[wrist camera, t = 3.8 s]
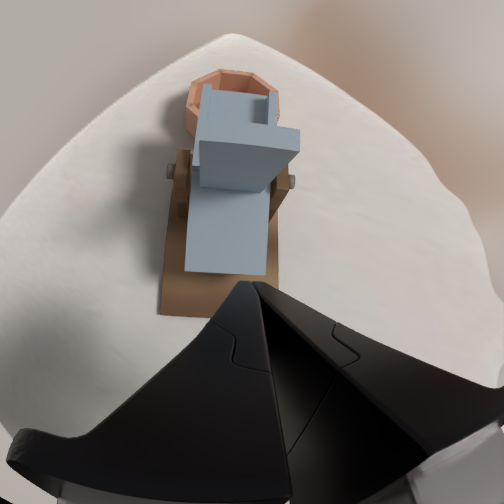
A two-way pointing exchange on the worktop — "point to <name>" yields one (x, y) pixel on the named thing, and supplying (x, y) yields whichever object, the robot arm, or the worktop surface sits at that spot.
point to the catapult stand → (174, 275)
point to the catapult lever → (234, 180)
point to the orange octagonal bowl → (225, 82)
